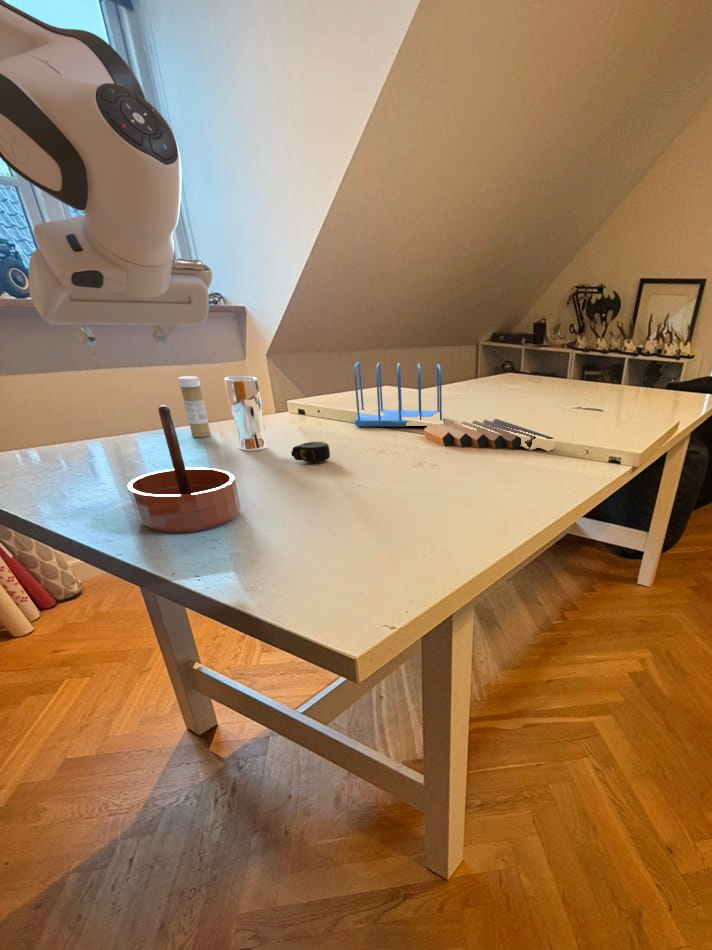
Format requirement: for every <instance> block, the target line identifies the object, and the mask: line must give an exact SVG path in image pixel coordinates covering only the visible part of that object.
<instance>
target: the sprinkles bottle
mask: <svg viewBox="0 0 712 950" xmlns="http://www.w3.org/2000/svg"><path fill="white" fill-rule="evenodd" d="M177 382H178V386H179V387H180V388H179V389H180V390H181V395H182V399H183V400H182V401H183V405H184V409H185V412H186V413H185V414H186V417H187V420H188V421H187V422H188V424H189V428H190V433H191V436H192V437H194V438H207V437H210V436H212V433H211V430H210V426H209V425H210V424H209V420H208V414H207V410H206V406H205V405H206V404H205V401H204V398H203V395H202V394H203V393H202V390H201V381H200V378H199V377H198V376H193V375H191V376H190V375H187V376H185V375H184V376H179V377H177Z"/></svg>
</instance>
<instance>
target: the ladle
mask: <svg viewBox="0 0 712 950" xmlns="http://www.w3.org/2000/svg"><path fill="white" fill-rule="evenodd" d="M157 412H158V415H159V418H160V422H161V427H162V430H163V434H164V437H165V441H166V446H167V449H168V453H169V457H170V460H171V464H172V467H173V468H172V469H174V472H175V475H176V479H177V483H178V487H179V491H180V494H181V495H182V494H191V489H190V485H189V482H188V478H187V474H186V470H185V468H186V467H185V462H184V459H183V454H182V450H181V445H180V442H179V438H178V435H177V431H176V430H177V429H176V427H175V422H174V418H173V415H172V411H171V409H170V407H169V406H167V405H160V406H159V407H158V411H157Z"/></svg>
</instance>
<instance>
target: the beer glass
mask: <svg viewBox="0 0 712 950" xmlns="http://www.w3.org/2000/svg"><path fill="white" fill-rule="evenodd" d="M257 379H258V378H257V377H254V376H248V375H247V376H246V375H245V376H244V375H241V376H239V375H237V376H227V377H225V378H224V382H225V389H226V390H225V391H226V396H227V397H226V398H227V401H228V406H229V410H230V412H231V415H232V418H233V420H234V423H235V426H236V429H237V432H238V447H239V448H238V449H240V450H241V451H244V452H245V451H246V452H256V451H262V450H263V451H264V450H266V449H267V447H268V446H267V442H266V440H265V436H264V433H263V407H262V398H261V393H260V388H259V385H258V380H257Z"/></svg>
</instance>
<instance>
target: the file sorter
mask: <svg viewBox="0 0 712 950" xmlns="http://www.w3.org/2000/svg"><path fill="white" fill-rule="evenodd" d="M357 370H358V377H357ZM396 370H397V371H396V372H397V373H396V374H397V398H398V401H397V402H398V409H384V406H383V405H384V404H383V387H382V368H381V362H380V361H379V362H377V364H376V367H375V378H376V393H377V394H376V395H377V410H378V415H368V414H363V413H359V411H360V403H361V410H365V408H364V407H365V406H364V396H363V383H362V371H361V363H360V361H357V362H356V363H355V364H354V366H353V374H354V375H353V377H354V388H355V403H356V411H357V412H356V413H357V415H356V418H355V419H354V424H355V427H358V428H359V427H360V428H361V427H362V428H363V427H367V428H369V427H381V428H382V427H383V428H384V427H385V428H386V427H387V428H388V427H391V428H399V427H400V428H407V427H406V423H407V422H409V421H406V420H403V419H402V417H418V416H420V420H421V417H431V416H433V415H434V414H436V413H437V412H440V420H442V415H443V412H442V409H443V407H442V404H443V403H442V401H443V400H442V368H441V366H440V363H437V364H436V406H437V407H436V410H422V374H421V373H422V372H421V371H422V370H421V363H417V393H418V394H417V396H418V409H417V410H415V409H414V410H413V409H412V410H411V409H403V404H402V378H401V377H402V376H401V363H400V362H397V367H396ZM358 378H359V389H358ZM359 390H360V402H359ZM380 411H381V412H383V413H384V414H385V415H383V416H381V415H380Z"/></svg>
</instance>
